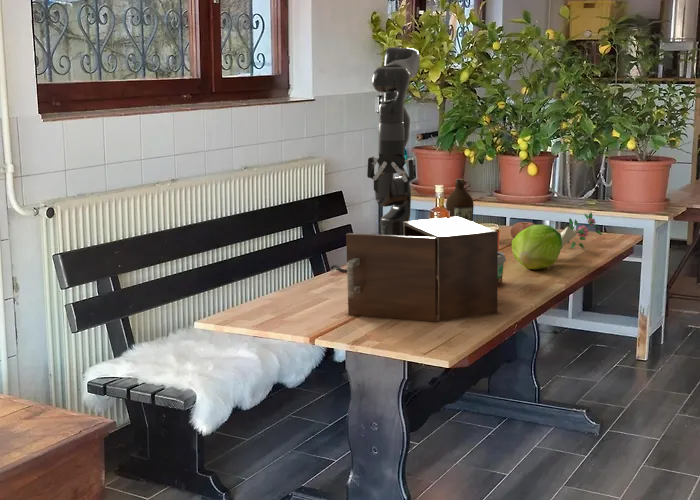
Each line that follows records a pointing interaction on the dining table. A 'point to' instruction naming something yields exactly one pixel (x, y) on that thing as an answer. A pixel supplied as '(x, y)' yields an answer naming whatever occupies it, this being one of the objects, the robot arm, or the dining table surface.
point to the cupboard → (462, 265)
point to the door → (392, 276)
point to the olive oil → (460, 202)
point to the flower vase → (582, 231)
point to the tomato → (519, 228)
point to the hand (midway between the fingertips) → (391, 193)
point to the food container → (500, 268)
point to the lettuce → (537, 246)
